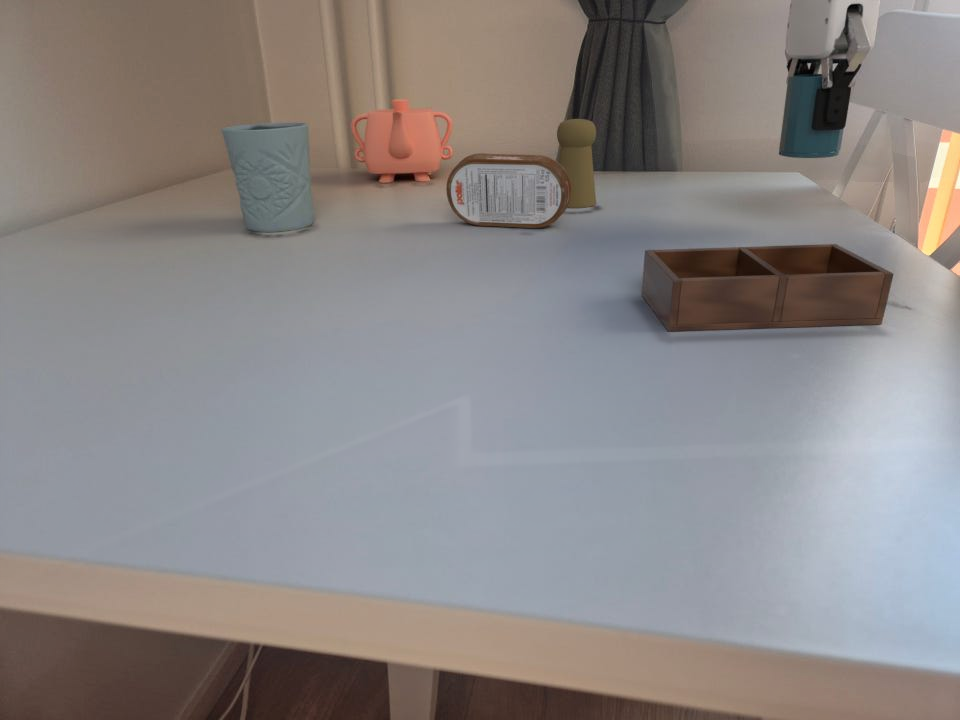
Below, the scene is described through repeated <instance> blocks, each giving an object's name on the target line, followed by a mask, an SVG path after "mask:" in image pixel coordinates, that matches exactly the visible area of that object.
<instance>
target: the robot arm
mask: <svg viewBox="0 0 960 720" xmlns="http://www.w3.org/2000/svg"><path fill="white" fill-rule="evenodd" d="M880 5H881V0H790V5H789V11H788V17H787V24H786V25H787V26H786V35H785V49H784V55H785V59H786V62H787V63H786V69H787V77H786V81H785V82H786V84H787V82H788V76H792V75H806V74H819V72H820V68H821V74H822V87H823V89H817V95H816V102H815V109H814V116H813V123H812V129H813V130H816V131H822V130H840V129H843V128H844V129H845V127H846V125H847V120H848V119H847V118H848V113H849V106H850V100H851V93H852V89H853V88H854V86H855V85H856V75H857V74H858V72H859V71H860V69H861V67H862V63H863V62H864V60H865V59H866V57H867V56H868V55H869V53H870V52H872V50H873V49H874V47H875V41H876V35H877V30H878V21H879V14H880ZM808 64H810V65H808ZM834 64H835V68H834Z"/></svg>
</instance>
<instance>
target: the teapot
mask: <svg viewBox="0 0 960 720" xmlns="http://www.w3.org/2000/svg"><path fill="white" fill-rule="evenodd" d="M409 101H410V100H409V99H407V98H397V99H392V100H391V105H392V107H393V108H391V109H390V108H388V109H373V110H371V111H368V113H360V114H358V115H356V116H355V117H354V118H352V121H351V123H350V130H351V131H350V132H351V135H352V136H353V138H354V140H355V142H356V143H357V145H358V146H359V148H356V149H355V150H354V154H353V155H354V158H355V160H356V161H357V162H359V163H364V164H365V166H366V169H367V172H368V173H369V174H377V175H380V177H379V179H378V183H382V184H385V183H388V184H389V183H393V182H394V181H395V177H396V176H397V174H413V176H414V180H415V182H429V181H431V179H430V175H432V172H433V173H434V172H437V171H439V169H440V166H441V162H442V160H443V161H445V160H450V159H451V158H452V157H453V154H454V150H453V147H452V146H451V145H448V142H449V139H450V137H451V134H452V133H453V132H452V131H453V129H454V128H453V126H454V125H453V120H452V118H451V116H449V114H447V113H445V112H444V111H440V110H436V111H434V110H433V108H430V107H426V108H425V107H422V108H419V107H417V108H410V102H409ZM436 118H442V119H444V120H445V121H446V131H445V133H444V135H443V137H442V139H441V136H440V130H439V126H438V123H437V119H436ZM362 120H366V122H365V123H366V124H365V130H364V138H363V139H364V141H363V140H362V138H361V136H360V134H359V132H358V128H357V124H358V122H360V121H362ZM445 150H448V153H447V154H446V153H445ZM360 153H362V154H363V156H360Z"/></svg>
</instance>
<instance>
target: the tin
mask: <svg viewBox="0 0 960 720" xmlns="http://www.w3.org/2000/svg"><path fill="white" fill-rule="evenodd" d="M558 162H559V161H557V160H555V159H554V158H552V157H550V156H547V155H542V154H517V153H516V154H515V153H486V152H485V153H484V152H482V153H480V152H479V153H473V154H469V155H467V156H466V157H464V158H463V159H461V160H460V161H459V162H458V163H457V164H456V165H455V166H454V168H453V169H452V170H451V172H450V174H449V175H448V178H447V182H446V188H445V189H446V198H447V201H448V204H449V207H450V208H451V210H452V211H453V213H454V214H455V215H456V216H457V217H458V218H459V219H460V220H462V221H463V222H465V223H468V224H470V225H472V226H478V227H479V226H481V227H499V228H500V227H501V228H518V229H519V228H521V229H522V228H523V229H543V228H545V227H548V226H550V225H552V224H554V223H556V221H557V220H559V219H560V217H561V216H562V215H563V214H564V213H565V211H566V210H567V209H568V208H567V207H568V204H569V202H570V199H571V182H570V179H569V176H568V174H567V172H566V171H565V169H564V168H563V167H562V166H561V165H560V164H559V163H558Z"/></svg>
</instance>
